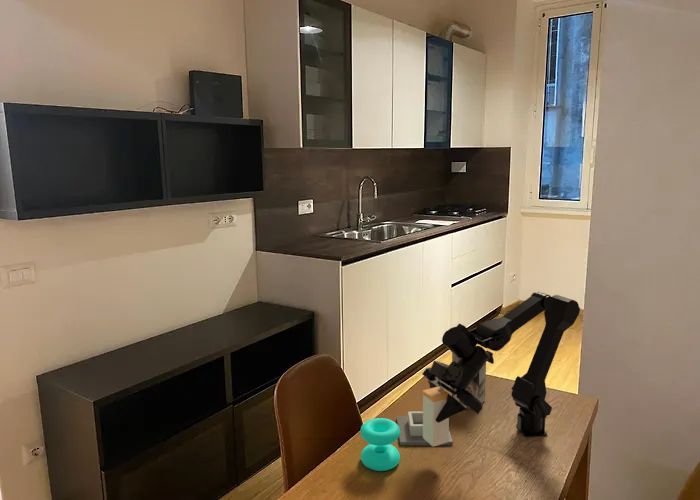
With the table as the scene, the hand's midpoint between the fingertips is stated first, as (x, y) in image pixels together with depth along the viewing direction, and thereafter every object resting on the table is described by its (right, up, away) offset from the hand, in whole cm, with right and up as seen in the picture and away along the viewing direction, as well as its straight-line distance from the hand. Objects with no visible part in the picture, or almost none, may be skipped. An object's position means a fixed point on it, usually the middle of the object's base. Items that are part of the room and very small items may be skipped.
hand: (431, 417), depth 136 cm
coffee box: (+17, -6, +35) cm, 39 cm away
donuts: (-12, -13, +3) cm, 18 cm away
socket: (0, -9, +17) cm, 19 cm away
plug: (+1, -6, +2) cm, 7 cm away
